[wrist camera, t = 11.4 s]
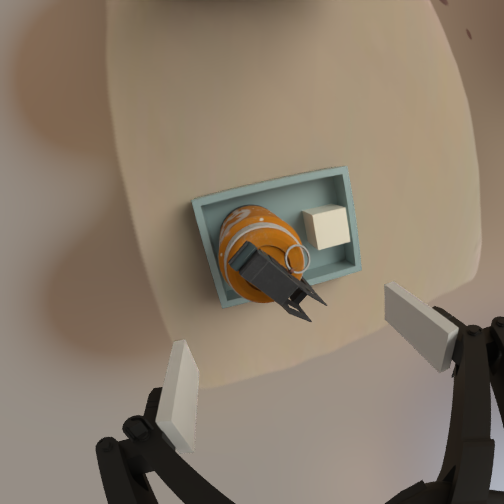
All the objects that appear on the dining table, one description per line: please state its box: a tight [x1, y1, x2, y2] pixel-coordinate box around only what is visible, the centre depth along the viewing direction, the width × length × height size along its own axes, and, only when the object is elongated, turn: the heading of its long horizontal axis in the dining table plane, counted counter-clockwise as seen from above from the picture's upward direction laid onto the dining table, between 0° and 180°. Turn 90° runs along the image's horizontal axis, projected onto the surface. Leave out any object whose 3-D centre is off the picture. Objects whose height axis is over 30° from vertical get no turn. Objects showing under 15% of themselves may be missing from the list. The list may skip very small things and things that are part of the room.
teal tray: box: [191, 166, 362, 309], centre depth 40 cm, size 16×22×4 cm
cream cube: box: [302, 204, 350, 250], centre depth 39 cm, size 5×5×5 cm
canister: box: [219, 204, 327, 322], centre depth 31 cm, size 9×11×20 cm
